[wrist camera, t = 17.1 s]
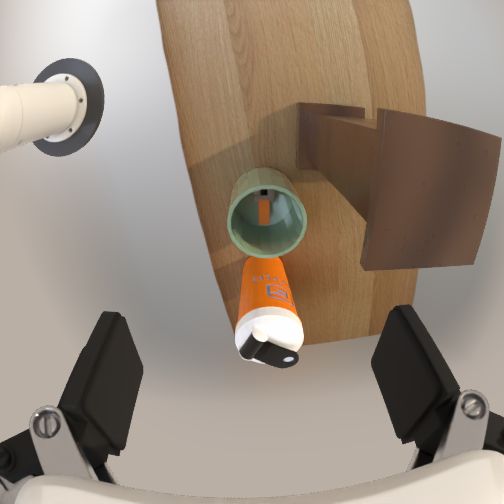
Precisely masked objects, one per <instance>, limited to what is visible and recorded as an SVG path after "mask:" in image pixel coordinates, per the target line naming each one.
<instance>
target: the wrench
mask: <svg viewBox="0 0 504 504" xmlns="http://www.w3.org/2000/svg"><path fill="white" fill-rule="evenodd" d="M253 200H254V202H258V221H259V225H268V224H270V202H274V201H275V189H261V190H258V191H255V192H253Z"/></svg>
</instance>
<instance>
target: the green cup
mask: <svg viewBox="0 0 504 504" xmlns="http://www.w3.org/2000/svg"><path fill="white" fill-rule="evenodd" d="M261 189H275V201H274V202H270V224H268V225H259V221H258V202H254V200H253V192H255V191H258V190H261ZM306 227H307V215H306V212H305V208H304V205H303V203H302V201H301V199H300V198H299V196H298V194H297V192H296V190H295V188H294V186H293V184H292V183H291V181H290V180H289V179H288V177H287V176H285V175H284V174H283V173H282V172H280V171H278V170H276V169H273V168H268V167H259V168H254V169H251V170H249V171H247V172H245V173H244V174H243V175H241V176H240V177H239V178H238V180H237V181H236V183H235V184H234V186H233V189H232V193H231V197H230V203H229V209H228V216H227V228H228V232H229V235H230V237H231V239H232V241H233V242H234V244H235V245H236V246H237V247H238V248H239V249H240V250H241V251H243V252H245V253H246V254H248V255H250V256H254V257H257V258H275V257H279V256H282V255H285V254H286V253H288V252H289V251H291V250H293V249H294V248H295V247H296V246H297V245H298V243H299V242H300V241H301V240H302V238H303V236H304V233H305V231H306Z"/></svg>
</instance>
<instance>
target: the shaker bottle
mask: <svg viewBox="0 0 504 504" xmlns="http://www.w3.org/2000/svg"><path fill="white" fill-rule="evenodd" d="M303 339H304V334H303V329H302V323H301V321H300V319H299V317H298V315H297V312H296V308H295V305H294V301H293V298H292V294H291V291H290V287H289V284H288V280H287V277H286V273H285V270H284V267H283V263H282V261H281V260H280V259H279V258H278V257H275V258H257V257H254V256H250V257H249V258H248V259H247V260H246V262H245V264H244V267H243V276H242V286H241V296H240V306H239V316H238V323H237V325H236V329H235V342H236V346H237V348H238V349H239V354H240V356H241V357H242V358H243V359H245V360H252V361H255V362H258V363H264V364H269V365H271V366H274V367H278V368H288V367H291V366H293V365H295V364H296V363H297V362H298V359H299V356H298V354H297V350H298V349H299V348H300V346H301V345H302V343H303Z"/></svg>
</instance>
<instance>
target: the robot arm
mask: <svg viewBox="0 0 504 504" xmlns="http://www.w3.org/2000/svg"><path fill="white" fill-rule="evenodd" d="M82 100H83V101H82ZM86 109H87V96H86V91H85V88H84V86H83V84H82V83H81V81H80V80H79V79H78V78H77V77H75V76H73V75H70V74H57V75H54V76H52V77H50V78H48V79H47V80H46V81H45V82H44V83H28V84H15V85H6V86H0V154H1V153H3V152H6V151H8V150H11V149H14V148H16V147H19V146H22V145H25V144H27V143H30V142H33V141H36V140H39V139H42V138H43V139H45V140H47V141H49V142H60V141H63V140H66V139H68V138H70V137H71V136H72V135H74V134H75V132H76V131H77V130H78V129H79V127H80V126H81V124H82V122H83V120H84V117H85V114H86ZM371 366H372V369H373V372H374V374H375V377H376V380H377V382H378V385H379V388H380V390H381V393H382V396H383V399H384V401H385V404H386V407H387V409H388V413H389V416H390V418H391V421H392V424H393V427H394V430H395V433H396V436H397V437H398V438H399V439H401V441H402V444H406V443H409V442H412V441H415V443H416V446H417V447H416V449H415V452H414V454H413V456H412V459H411V461H410V464H409V466H408V468H407V470H406V472H403V473H400V474H396V475H393V476H390V477H386V478H383V479H379V480H375V481H372V482H368V483H364V484H359V485H355V486H351V487H345V488H340V489H334V490H329V491H323V492H316V493H309V494H301V495H291V496H280V497H264V498H212V497H195V496H184V495H175V494H166V493H160V492H153V491H147V490H141V489H135V488H130V487H125V486H120V484H119V483H118V481H117V479H116V477H115V476H114V474H113V472H112V471H111V469H110V467H109V466H108V464H107V458H108V454H111V455H115V456H119V455H120V450H124V448H125V446H126V441H127V437H128V432H129V428H130V423H131V419H132V415H133V411H134V407H135V403H136V399H137V395H138V391H139V387H140V383H141V380H142V375H143V365H142V362H141V360H140V357H139V355H138V352H137V350H136V347H135V344H134V342H133V339H132V336H131V333H130V330H129V328H128V325H127V322H126V319H125V317H123V316H121V314H120V313H118V312H107V311H104V312H103V313H102V314H101V316H100V318H99V320H98V322H97V324H96V326H95V328H94V330H93V332H92V334H91V336H90V338H89V340H88V342H87V344H86V346H85V347H84V348H83V349H82V351H81V353H80V355H79V357H78V360H77V362H76V364H75V366H74V368H73V371H72V373H71V375H70V377H69V380H68V382H67V384H66V387H65V389H64V392H63V394H62V396H61V399H60V401H59V404H58V406H57V407H54V406H47V405H46V406H43V407H40V408H39V409H37V410H36V411H35V412H34V413H33V414H32V416H31V418H30V423H29V429H27V430H25V431H23V432H21V433H19V434H17V435H16V436H14V437H11V438H9V439H7V440H5V441H3V442H1V443H0V504H504V417H502V416H500V415H497V414H495V413H493V412H491V411H489V404H488V401H487V399H486V397H485V396H484V395H483V394H482V393H480V392H478V391H477V390H472V389H470V390H466V391H464V392H462V393H461V392H460V390H459V389H460V387H459V385H458V383H457V381H456V379H455V378H454V376H453V374H452V372H451V370H450V369H449V367H448V365H447V363H446V362H445V360H444V358H443V356H442V354H441V353H440V351H439V349H438V348H437V346H436V344H435V342H434V341H433V339H432V337H431V336H430V334H429V333H428V331H427V329H426V328H425V326H424V325H423V323H422V322H421V320H420V319H419V317H418V315H417V313H416V312H415V311H414V309H413V307H412V306H411V305H409V304H408V305H399V306H395V307H394V308H393V310H391V311H390V312H389V315H388V318H387V320H386V323H385V326H384V329H383V331H382V334H381V337H380V339H379V342H378V344H377V347H376V349H375V352H374V354H373V356H372V359H371Z"/></svg>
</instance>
